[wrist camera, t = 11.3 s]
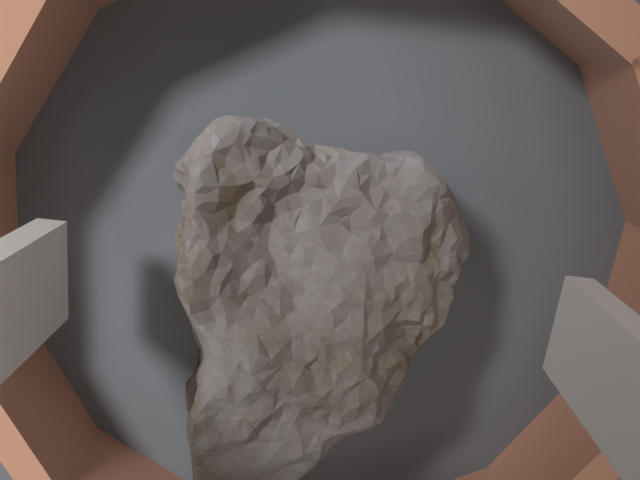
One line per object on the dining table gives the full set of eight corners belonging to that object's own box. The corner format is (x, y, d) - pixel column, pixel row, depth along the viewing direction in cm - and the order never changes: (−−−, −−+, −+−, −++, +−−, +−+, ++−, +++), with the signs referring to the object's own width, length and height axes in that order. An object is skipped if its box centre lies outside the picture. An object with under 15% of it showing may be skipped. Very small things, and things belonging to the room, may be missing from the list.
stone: (380, 442, 20) (401, 593, 14) (143, 387, 19) (66, 520, 14) (475, 159, 17) (549, 206, 11) (201, 87, 16) (134, 98, 11)
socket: (-51, -182, 16) (-183, -268, 12) (757, -84, 16) (901, -132, 12) (-8, 498, 22) (-83, 595, 18) (570, 555, 22) (623, 663, 18)
